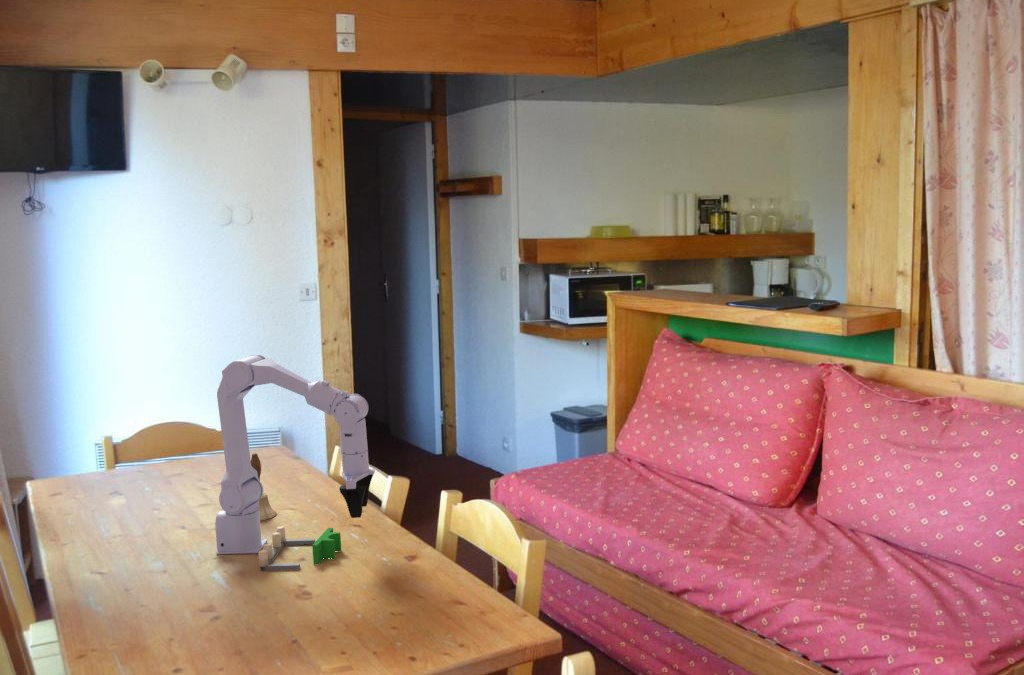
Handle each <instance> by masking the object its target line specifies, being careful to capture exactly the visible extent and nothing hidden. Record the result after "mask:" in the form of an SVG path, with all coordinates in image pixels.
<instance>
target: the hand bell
mask: <svg viewBox="0 0 1024 675" xmlns="http://www.w3.org/2000/svg"><path fill="white" fill-rule="evenodd" d="M250 460H251V466H252V467H253V468H254V469H255V470H256V471H257V473H258V478H259V480H260V481H261V474H262V462H261V460H260V457H259V455H258V453H256V452H255V453H251V457H250ZM259 515H260V522H261V521H266V520H269V519H272V518H274V517H276V516H277V515H278V514H277V511H276V509H274V508H273V507H272V506H271V504H270V500H269V497H268V494H267V493H265V492H263V495H262V497H261V499H260V500H259Z"/></svg>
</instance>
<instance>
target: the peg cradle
mask: <svg viewBox="0 0 1024 675" xmlns="http://www.w3.org/2000/svg"><path fill="white" fill-rule="evenodd" d="M271 537H272V538H271V539H272V543H269V542H268V543H265V544H264V546H263V550H262V549H261V550H260V551H259V552H258V564H259V567H260V568H259V569H260V572H266V571H267V572H268V571H269V572H270V571H271V572H273V570H275V571H298V570H297V569H299V570H301V563H300V562H297V563H296V562H295V563H291V562H290V563H273V562H274V560H275V559H276V558H277V556H278V555H279V553H280V551H281V550H282V549H283V548H284V547H285V546H305V545H304V544H314V543H315V542H316V538H293V539H288V538H287V539H286V527H285V526H282V525H281V526H277V527H276V532H273V533H271ZM277 554H278V555H277Z"/></svg>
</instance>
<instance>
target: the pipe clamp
mask: <svg viewBox="0 0 1024 675" xmlns="http://www.w3.org/2000/svg"><path fill="white" fill-rule="evenodd" d="M341 542H342V538H341V532H339V531H338V532H335V531H334V528H333V527H327V528H326V530H325V531H324V532H323V533H322V534H321V535H320V536H319V537H318V538H317V540H315V543H314V544H313V545H311V547H312V559H313V560H312V561H313V565H315V564H319V563H320V564H321V562H322V561H323V560H327V559H328V558H330V559H331V558H332V559H335V560H336V553H335V551H341V552H342V543H341ZM323 558H324V559H323ZM322 559H323V560H322ZM321 560H322V561H321ZM320 564H319V565H320Z"/></svg>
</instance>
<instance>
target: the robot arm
mask: <svg viewBox="0 0 1024 675" xmlns="http://www.w3.org/2000/svg"><path fill="white" fill-rule="evenodd" d="M221 374H222V377H221V381H220V383H219V384H218V385H219V386H218V389H217V390H216V391H217V392H216V398H217V404H218V405H217V407H218V414H219V422H220V429H221V439H222V445H223V454H224V462H225V473H224V475H223V478H222V479H221V481H220V488H221V489H220V494H219V496H218V503H219V506H220V507H221V509H222V510H219V511H218V512H217V514H216V517H215V522H214V524H215V539H216V555H233V554H234V555H235V554H237V555H238V554H240V555H241V554H257V553H258V552H259V551H262V548H264V545H265V544H267V543H268V539H267V538H262V533H261V532H262V531H261V521H260V515H259V500H260V499H261V497H262V495H263V493H264V486H263V484H262V482H261V479H260V480H259V478H258V473H257V471H256V470H255V469H254V468H253V467H252V466H251V453H250V452H251V451H250V445H249V444H250V443H249V438H248V429H247V420H246V419H247V418H246V412H245V405H244V398H245V397H246V396H247V394H248V393H249V392H250V391H251V390H252V389H253V388H254V387H256V386H260V385H267V384H273V385H276V386H278V387H281V388H283V389H285V390H288V391H290V392H293V393H294V394H297V395H299V396H302V397H304V399H305V401H306V404H307V405H309V406H311V407H313V408H315V409H316V410H319V411H320V412H323V413H325V414H328V415H329V416H331V417H333V418H334V420H335V421H336V423H337V424H338V426H339V428H338V429H339V441H340V442H339V443H340V453H341V466H342V471H341V476H342V478H343V479H344V480H345V485H340V487H339V493H340V494H341V495H342V497H343V498H344V502H346V503H345V504H346V506H347V509H348V513H349V516H350V518H351V519H354V518H361V517H362V513H363V507H367V506H368V502H369V501H368V500H369V493H370V488H371V487H370V486H371V482H372V480H373V477H374V474H375V473H376V470H375V468H370V464H369V449H368V448H369V447H368V439H367V438H368V436H367V434H368V433H367V426H366V422H367V421H366V418H365V417H366V416H367V415H368V412H369V403H368V401H367V400H366V399H365V397H363V396H362V395H361V394H359V393H351V394H349V391H347V390H341V389H339V388H337V387H334V386H332V385H330V381H328V380H325V379H323V381H322V380H317V381H314V382H311V381H309V380H308V379H306V378H304V377H302V376H300V375H298V374H297V373H294V372H293V371H291V370H289V369H287V368H285V367H284V366H281V365H280V364H278V363H277V362H275V361H274V360H273V359H271V358H266V357H265V356H264V355H262V354H258V353H257V354H256V353H255V354H251V355H250V356H248V357H245V358H242V359H238V360H234V361H232V362H230V363H229V364H228V365H227V366H226V367H224V369H222V371H221ZM258 554H259V553H258Z"/></svg>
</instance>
